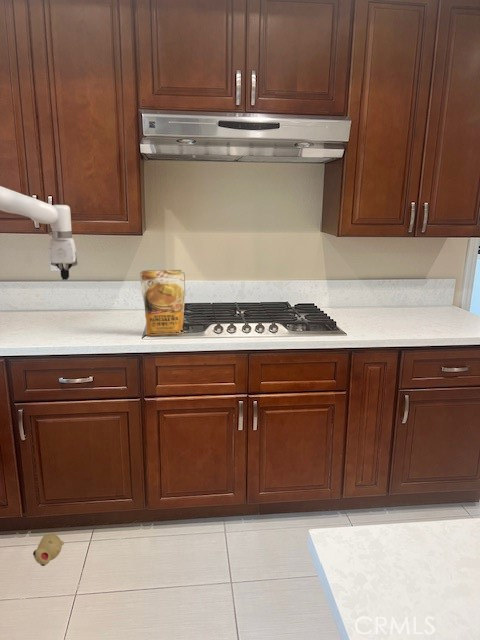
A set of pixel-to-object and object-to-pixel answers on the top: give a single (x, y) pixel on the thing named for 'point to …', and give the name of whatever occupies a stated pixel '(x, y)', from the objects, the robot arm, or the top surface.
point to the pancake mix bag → (163, 301)
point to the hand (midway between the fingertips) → (65, 279)
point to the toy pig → (48, 549)
